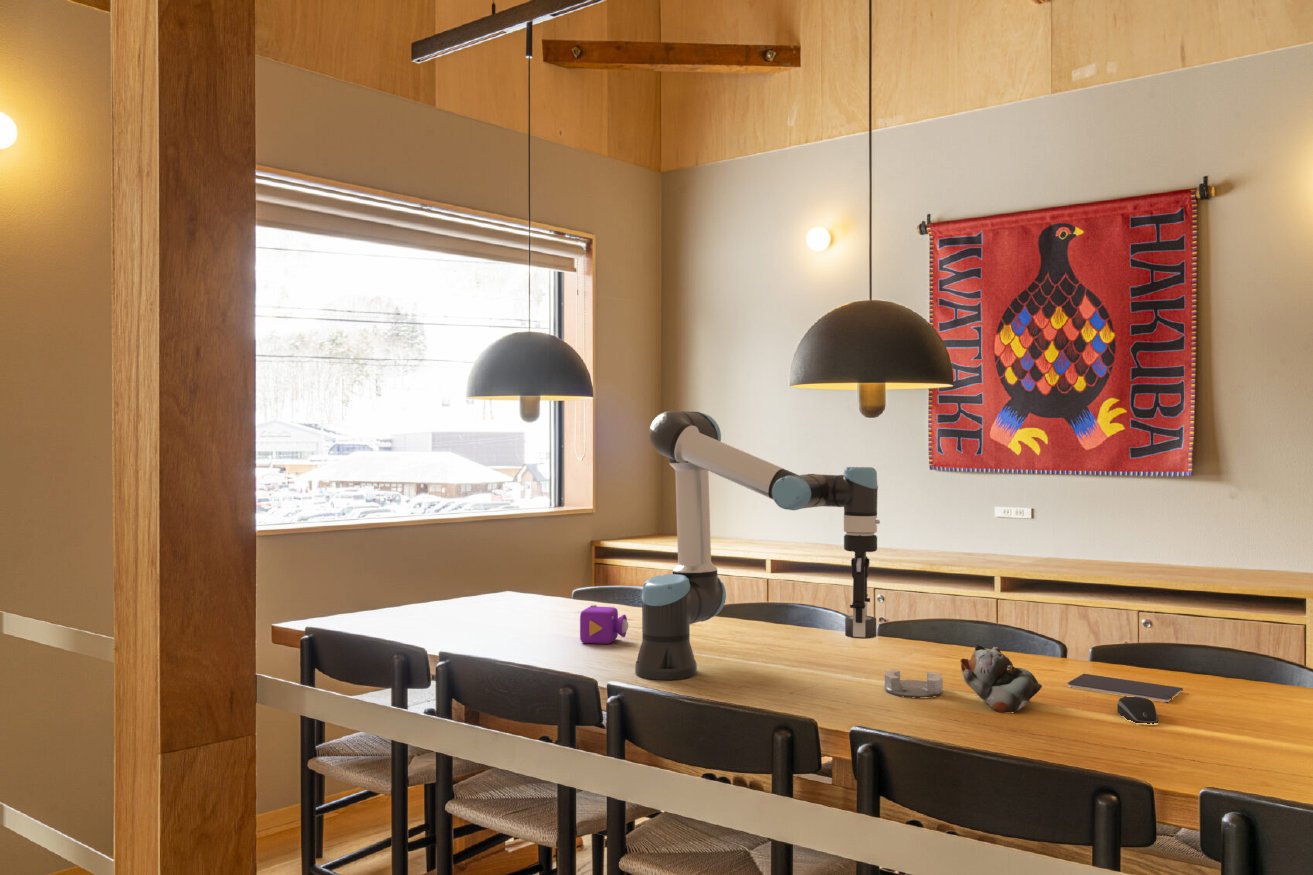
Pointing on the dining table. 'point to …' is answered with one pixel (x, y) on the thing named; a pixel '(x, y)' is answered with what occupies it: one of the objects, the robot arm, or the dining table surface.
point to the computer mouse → (1137, 710)
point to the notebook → (1125, 687)
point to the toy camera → (601, 625)
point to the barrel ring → (913, 685)
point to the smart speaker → (869, 627)
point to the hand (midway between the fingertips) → (860, 633)
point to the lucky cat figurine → (998, 680)
